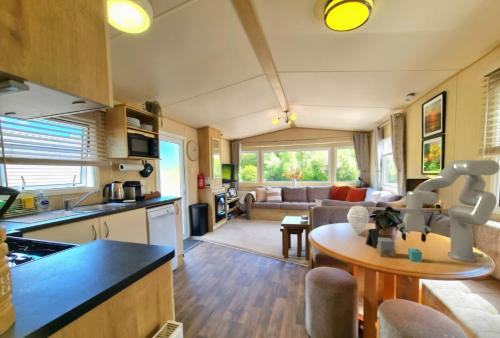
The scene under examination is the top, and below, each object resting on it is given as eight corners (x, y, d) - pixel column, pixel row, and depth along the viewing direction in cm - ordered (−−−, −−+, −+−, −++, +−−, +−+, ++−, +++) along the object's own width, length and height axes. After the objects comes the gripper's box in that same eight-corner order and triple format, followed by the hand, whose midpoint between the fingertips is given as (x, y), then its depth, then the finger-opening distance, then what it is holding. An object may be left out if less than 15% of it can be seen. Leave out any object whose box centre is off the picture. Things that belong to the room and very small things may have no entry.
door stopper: (382, 247, 146) (382, 230, 145) (375, 248, 144) (375, 231, 144) (372, 243, 154) (372, 226, 154) (365, 244, 153) (365, 227, 153)
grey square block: (390, 253, 137) (390, 245, 137) (395, 258, 129) (395, 250, 129) (376, 252, 139) (376, 244, 139) (380, 257, 131) (380, 249, 131)
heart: (369, 241, 159) (368, 211, 158) (346, 237, 166) (346, 209, 166) (369, 230, 183) (369, 205, 182) (349, 228, 191) (349, 203, 190)
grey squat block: (390, 245, 136) (390, 238, 136) (394, 250, 129) (394, 241, 129) (377, 244, 138) (377, 237, 138) (381, 249, 132) (381, 241, 131)
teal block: (417, 258, 128) (417, 248, 128) (421, 262, 123) (421, 252, 123) (408, 257, 129) (408, 248, 129) (411, 261, 124) (411, 251, 124)
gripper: (428, 211, 127) (427, 240, 127) (395, 209, 132) (394, 237, 132) (435, 214, 120) (434, 244, 120) (399, 212, 125) (399, 241, 125)
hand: (413, 240), depth 126 cm, fingers open, 9 cm apart
